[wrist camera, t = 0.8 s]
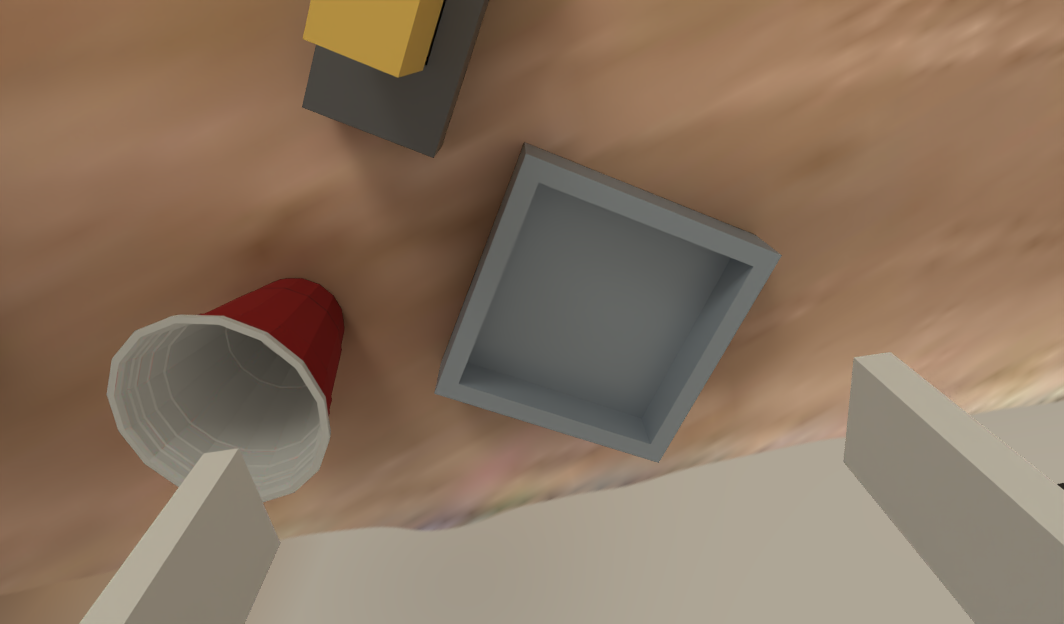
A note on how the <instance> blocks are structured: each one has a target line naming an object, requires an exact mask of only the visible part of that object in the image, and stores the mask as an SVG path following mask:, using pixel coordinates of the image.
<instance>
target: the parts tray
mask: <svg viewBox="0 0 1064 624" xmlns="http://www.w3.org/2000/svg"><path fill="white" fill-rule="evenodd" d="M781 256H782V255H781V254H779V253H778V252H777V251H775V250H774V249H773V248H771V247H770V246H769V245H768V244H766V243H765V242H764V241H762V240H761V239H760V238H759V237H757V236H756V235H754V234H751V233H749V232H746V231H744V230H741V229H739V228H736V227H734V226H731V225H729V224H726V223H724V222H722V221H719V220H717V219H714V218H712V217H709V216H707V215H704V214H702V213H699V212H697V211H694V210H692V209H689V208H687V207H684V206H682V205H679V204H677V203H674V202H672V201H669V200H667V199H664V198H662V197H659V196H657V195H654V194H652V193H649V192H647V191H644V190H642V189H639V188H637V187H634V186H632V185H629V184H627V183H624V182H622V181H620V180H617V179H615V178H612V177H610V176H607V175H605V174H602V173H600V172H597V171H595V170H592V169H590V168H587V167H585V166H582V165H580V164H577V163H575V162H572V161H570V160H567V159H565V158H562V157H560V156H557V155H555V154H552V153H550V152H547V151H545V150H542V149H540V148H537V147H535V146H532V145H530V144H527V143H525V142H524V145H523V147H522V150H521V153H520V155H519V158H518V161H517V163H516V166H515V169H514V171H513V174H512V176H511V179H510V182H509V184H508V187H507V190H506V192H505V195H504V198H503V200H502V203H501V205H500V208H499V211H498V213H497V216H496V219H495V221H494V224H493V227H492V229H491V232H490V235H489V237H488V240H487V242H486V245H485V248H484V250H483V253H482V256H481V258H480V261H479V264H478V266H477V269H476V272H475V274H474V277H473V279H472V282H471V285H470V287H469V290H468V293H467V295H466V298H465V301H464V303H463V306H462V309H461V311H460V314H459V316H458V319H457V322H456V324H455V327H454V330H453V332H452V335H451V338H450V340H449V343H448V346H447V348H446V351H445V353H444V356H443V359H442V361H441V365H440V370H439V374H438V379H437V384H436V388H435V393H434V394H437V395H441V396H444V397H447V398H450V399H454V400H457V401H460V402H463V403H467V404H470V405H473V406H476V407H480V408H483V409H486V410H489V411H493V412H496V413H499V414H502V415H506V416H509V417H512V418H515V419H518V420H522V421H525V422H528V423H531V424H535V425H538V426H541V427H544V428H548V429H551V430H554V431H557V432H561V433H564V434H567V435H570V436H574V437H577V438H580V439H583V440H586V441H590V442H593V443H596V444H599V445H603V446H606V447H609V448H612V449H616V450H619V451H622V452H625V453H629V454H632V455H635V456H638V457H642V458H645V459H648V460H651V461H655V462H658V463H659V461H660V459H661V458H662V456H663V454H664V453H665V451H666V449H667V448H668V446H669V444H670V443H671V441H672V439H673V438H674V436H675V434H676V433H677V431H678V429H679V427H680V426H681V424H682V422H683V421H684V419H685V417H686V416H687V414H688V412H689V411H690V409H691V407H692V406H693V404H694V402H695V401H696V399H697V397H698V395H699V394H700V392H701V390H702V389H703V387H704V385H705V384H706V382H707V380H708V379H709V377H710V375H711V374H712V372H713V370H714V369H715V367H716V365H717V363H718V362H719V360H720V358H721V357H722V355H723V353H724V352H725V350H726V348H727V347H728V345H729V343H730V342H731V340H732V338H733V337H734V335H735V333H736V331H737V330H738V328H739V326H740V325H741V323H742V321H743V320H744V318H745V316H746V315H747V313H748V311H749V310H750V308H751V306H752V305H753V303H754V301H755V299H756V298H757V296H758V294H759V293H760V291H761V289H762V288H763V286H764V284H765V283H766V281H767V279H768V278H769V276H770V274H771V273H772V271H773V269H774V267H775V266H776V264H777V262H778V261H779V259H780V257H781Z"/></svg>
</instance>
